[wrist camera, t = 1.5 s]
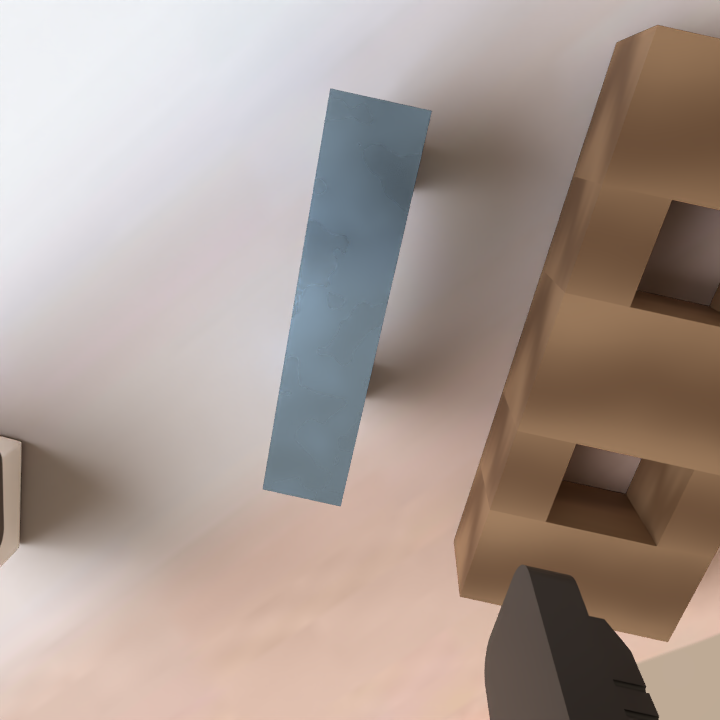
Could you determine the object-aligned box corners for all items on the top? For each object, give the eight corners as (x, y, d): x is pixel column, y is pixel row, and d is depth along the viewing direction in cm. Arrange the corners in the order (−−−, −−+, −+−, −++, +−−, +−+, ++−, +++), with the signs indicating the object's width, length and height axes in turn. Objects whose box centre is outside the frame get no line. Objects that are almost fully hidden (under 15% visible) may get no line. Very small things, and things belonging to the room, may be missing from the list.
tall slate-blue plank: (353, 100, 24) (330, 88, 17) (425, 116, 24) (431, 110, 17) (297, 403, 29) (262, 489, 22) (356, 416, 29) (340, 506, 22)
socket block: (616, 42, 23) (657, 24, 19) (871, 98, 23) (962, 92, 19) (453, 541, 31) (459, 596, 28) (637, 581, 31) (667, 642, 28)
